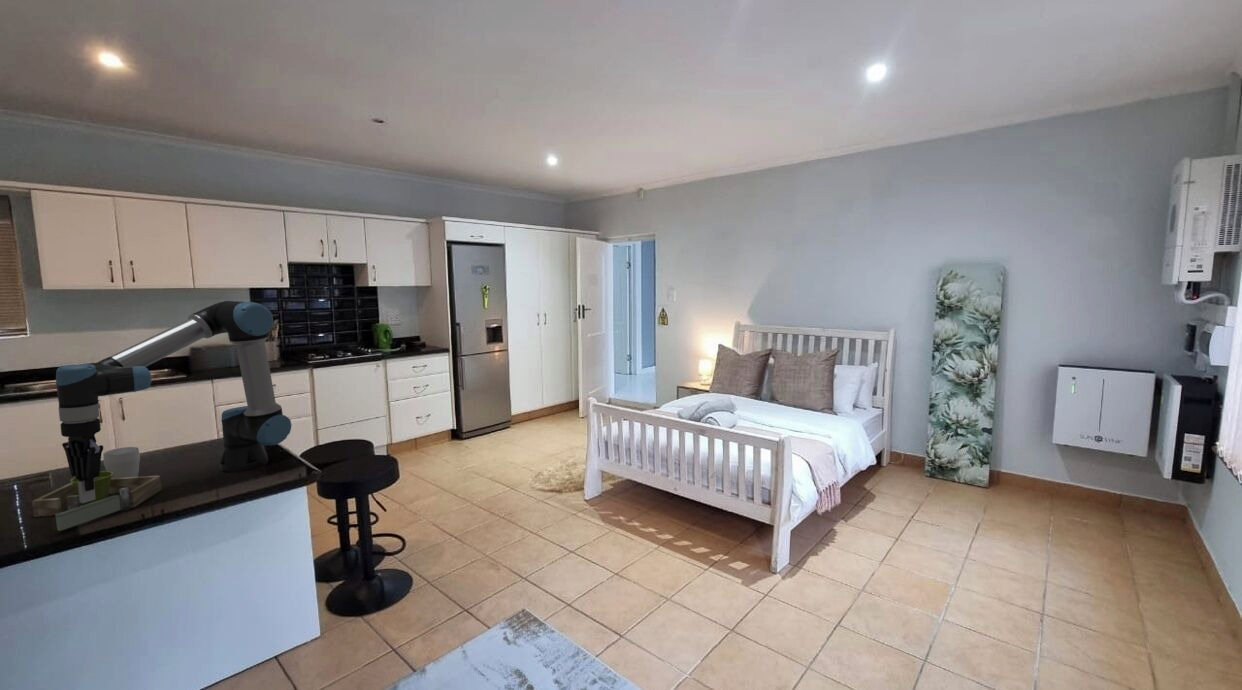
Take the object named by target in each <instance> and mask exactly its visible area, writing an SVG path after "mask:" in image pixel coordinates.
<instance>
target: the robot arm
mask: <svg viewBox="0 0 1242 690" xmlns="http://www.w3.org/2000/svg"><path fill="white" fill-rule="evenodd" d="M187 317H188V318H187V319H186V320H184V321H182V322H180V323H177V324H176V325H174V326H173V325H172V326H171V327H170V328H167V329H165V330H163V331H160V332H159V333H157V334H155V335H153V336H150V337H148V338H146V339H145V340H141V341H140V342H138V343H135V344H134V345H131V346H128V347H127V348H125V349H123V350H120V351H119V352H117V353H115V354H114V353H113V354H112V355H110V356H108V357H105V358H103V359H101V360H99V361H97V362H88V363H84V364H68V365H63V366H60V367H58V368H57V369H56V371H55V372H56V373H55V385H56V393H57V399H58V400H57V401H58V414H59V415H58V418H59V421H60V422H61V423H60V425H59V426H60V433H61V434H60V435H61V436H62V437H65V438H67V440H68V441H67V442H62V444H61V445H62V448H63V450H64V452H65V456H66V460H67V463H68V468H69V472H70V475H71V477H76V479H77V480H78V488H79V499H80V503H85V502H89V501H92V500H95V499H96V498H95V487H94V478H95V477H98V476H100V472H101V464H102V463H101V462H102V453H103V450H104V446H103V444H101V445H98V444H97V439H96V436H95V435H96V434H99V432H101V420H100V418H99V417H100V410H99V409H100V407H101V406H100V405H99V397H104V396H105V397H106V396H111V395H119V394H125V393H132V392H133V393H136V392H138V391H143V390H144V391H146V390H147V389H149V388H150V387H151V384H152V381H153V380H152V375H151V372H150V370H149V368H148V366H150V365H152V364H154V363H156V362H158V361H160V360H163V359H164V358H166V357H168V356H170V355H173V354H174V353H176V352H178V351H180V350H182V349H184V348H186V347H189V346H190V345H192V344H194V343H196V342H197V341H199V340H201V339H210V338H212V337H214V336H216V335H220V334H221V335H222V334H227V335H228V340H229V342H230V343H232V344H233V345H235V347H236V353H237V358H238V364H239V369H240V374H241V378H242V384H243V389H244V395H245V400H246V405H244V406H238V407H233V408H228V409H225V410H223V411H222V413H221V419H220V420H221V421H220V422H221V428H222V442H223V451H222V454H221V456H220V460H219V466H218V467H219V470H220V471H221V472H228V473H237V472H246V471H250V470H255V469H257V468H260V467H262V466H264V465H266V464H268V462H269V457H268V454H267V452H266V450H265V448H264V446H276V445H278V444H281V443H282V442H283V441H285V440H286V439H287V437H288V436H289V435H290V433H291V431H292V421H291V419H290V418H289V417H288V416H287V415H283V413H284V412H283V410H282V409H283V408H282V406H281V404H279V403H277V402H276V397H275V391H274V385H273V381H272V380H273V379H272V375H271V369H270V363H269V358H268V353H267V348H266V347H267V346H266V341H267V340H268V339H269V337H270V335H269V332H270V331H271V330H272V328H273V326H274V318H273V315H272V313H271V311H270V309H269V308H268V307H266V306H265V305H263V304H260V303H258V302H254V301H238V300H237V301H235V300H234V301H233V300H224V301H220V302H216V303H214V304H212V305H209V306H207V307H203V309H201V310H199V311H196V312H193V313H192V314H190V315H188V316H187Z"/></svg>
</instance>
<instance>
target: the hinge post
mask: <svg viewBox="0 0 1242 690" xmlns="http://www.w3.org/2000/svg"><path fill="white" fill-rule="evenodd" d="M119 492H120V493H119V496H120V508H121V510H120V511H121V512H127V511H130V510H131V507H130V500H129V490H128V487H123V488H120V489H119ZM129 509H130V510H129Z"/></svg>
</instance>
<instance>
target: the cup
mask: <svg viewBox="0 0 1242 690" xmlns="http://www.w3.org/2000/svg"><path fill="white" fill-rule="evenodd" d="M102 457H103V460H102V461H103V465H104V468H105V471H109V472H113V475H112V477H111V478H124V477H139V471H140V469H139V468H140V460H141V455H140V450H139V447H136V446H127V447H126V446H125V447H120V448H118V447H117V448H114V449H110V450H108V451H104V452H103V456H102Z"/></svg>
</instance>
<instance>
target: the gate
mask: <svg viewBox="0 0 1242 690" xmlns="http://www.w3.org/2000/svg"><path fill="white" fill-rule="evenodd" d="M118 511H121V502H120V494H114V495H111V496H108V498H105V499H102V500H98V501H95V502H92V503H89V504H86V505H83V506H82V505H80V507H77V508H74V509H70V510H68V509H67V510H65V511H62V512H61V513H58V514H55V516H54V517H55V522H56V528H57V529H56V530H57V531H59V532H60V531H63V530H67V529H69V528H72V527H75V526H77V525H78V526H79V525H81V524H84V523H87V522H89V521H92V520H95V519H97V518H101V517H104V516H107V515H110V514H112V513H116V512H118Z"/></svg>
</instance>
